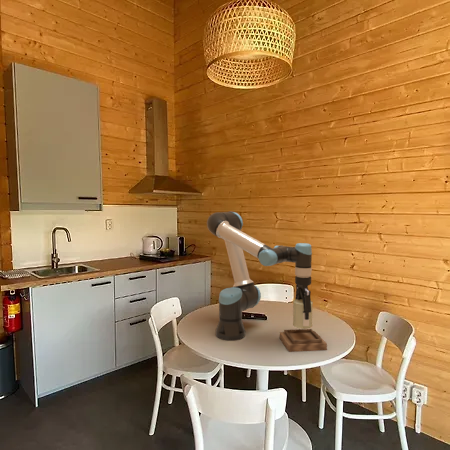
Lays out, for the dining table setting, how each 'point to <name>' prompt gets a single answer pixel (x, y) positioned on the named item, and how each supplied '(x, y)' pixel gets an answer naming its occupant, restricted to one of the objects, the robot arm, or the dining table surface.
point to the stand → (302, 340)
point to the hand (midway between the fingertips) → (302, 322)
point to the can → (300, 314)
